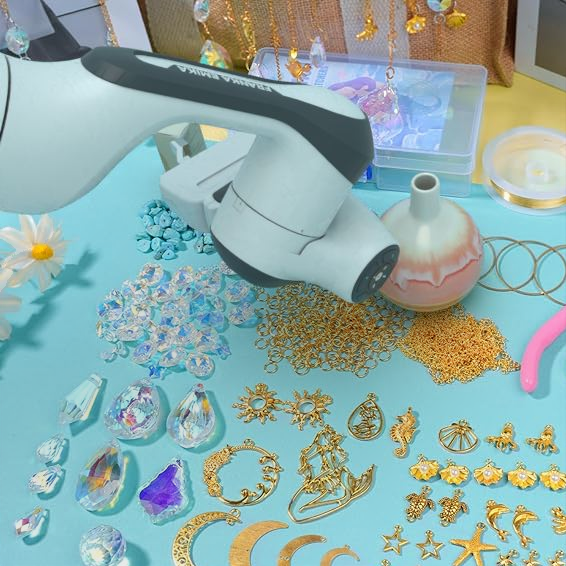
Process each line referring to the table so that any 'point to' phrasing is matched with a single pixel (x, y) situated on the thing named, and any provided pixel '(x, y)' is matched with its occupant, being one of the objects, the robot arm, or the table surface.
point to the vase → (432, 249)
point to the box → (171, 133)
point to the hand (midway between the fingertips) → (211, 124)
